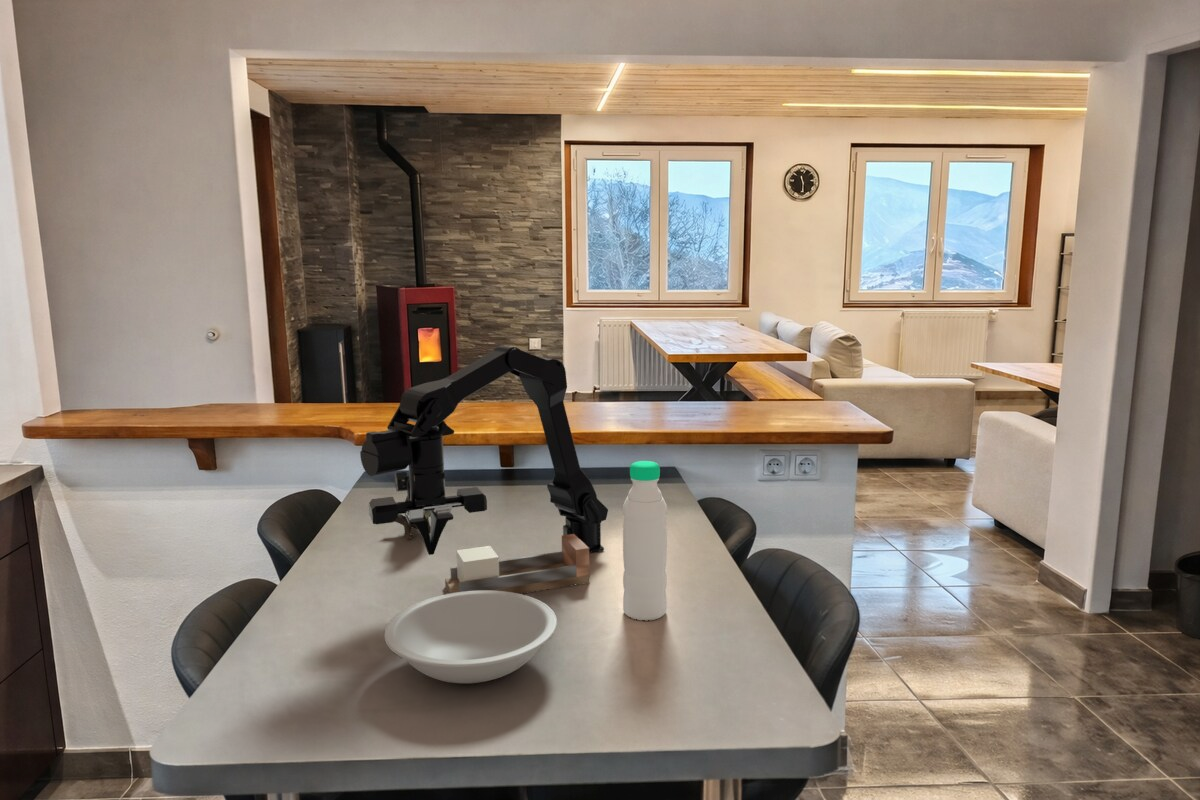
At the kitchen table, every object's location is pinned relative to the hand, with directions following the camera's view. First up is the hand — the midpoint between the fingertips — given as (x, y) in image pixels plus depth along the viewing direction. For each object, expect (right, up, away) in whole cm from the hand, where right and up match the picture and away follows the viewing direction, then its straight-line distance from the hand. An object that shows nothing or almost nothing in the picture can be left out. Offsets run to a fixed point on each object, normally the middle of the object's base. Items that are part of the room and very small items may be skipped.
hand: (430, 553), depth 144 cm
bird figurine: (-10, -2, +33) cm, 35 cm away
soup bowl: (+10, -12, -22) cm, 27 cm away
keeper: (+7, -5, +4) cm, 10 cm away
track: (+14, -7, +7) cm, 17 cm away
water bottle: (+36, -9, -5) cm, 37 cm away
